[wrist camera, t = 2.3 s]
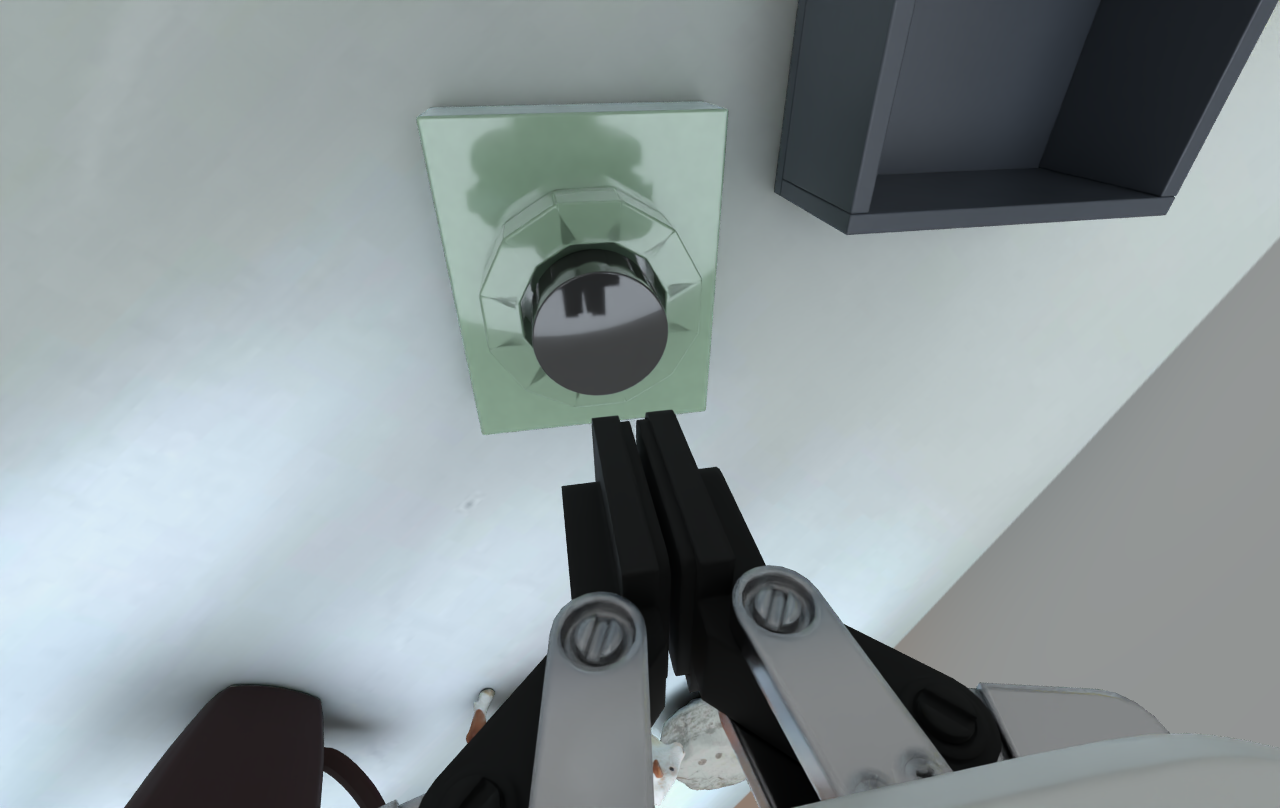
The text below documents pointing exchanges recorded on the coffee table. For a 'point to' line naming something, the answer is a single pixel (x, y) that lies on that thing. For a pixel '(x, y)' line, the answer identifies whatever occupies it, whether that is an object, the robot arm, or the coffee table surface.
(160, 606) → the coffee table surface
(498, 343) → the push button base
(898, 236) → the coffee table surface
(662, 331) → the button top
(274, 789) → the mug
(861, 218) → the bin
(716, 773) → the decorative stone
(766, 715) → the robot arm
